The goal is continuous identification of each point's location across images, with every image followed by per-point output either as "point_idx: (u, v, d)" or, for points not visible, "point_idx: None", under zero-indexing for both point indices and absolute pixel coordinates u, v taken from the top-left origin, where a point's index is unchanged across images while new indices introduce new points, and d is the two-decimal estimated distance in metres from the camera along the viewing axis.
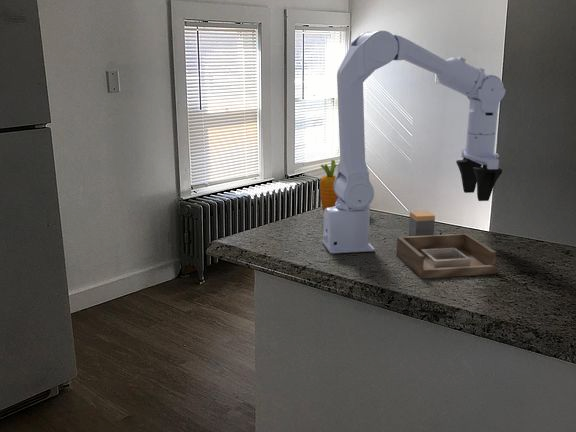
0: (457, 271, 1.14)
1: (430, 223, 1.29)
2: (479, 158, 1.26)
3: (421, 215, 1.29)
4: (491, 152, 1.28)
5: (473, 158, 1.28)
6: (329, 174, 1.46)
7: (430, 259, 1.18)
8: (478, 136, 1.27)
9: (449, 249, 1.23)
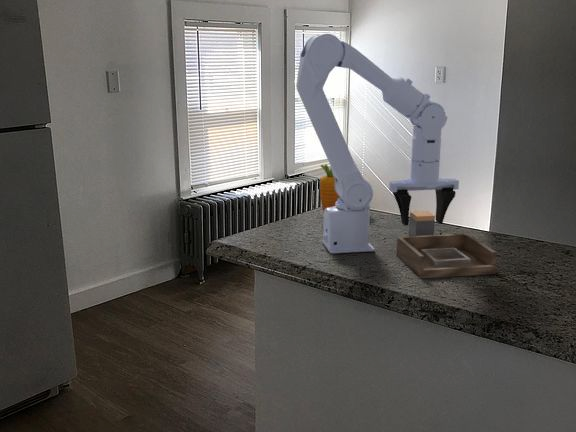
0: (457, 271, 1.14)
1: (430, 223, 1.29)
2: None
3: (421, 215, 1.29)
4: (416, 179, 1.27)
5: None
6: (329, 174, 1.46)
7: (430, 259, 1.18)
8: None
9: (449, 249, 1.23)
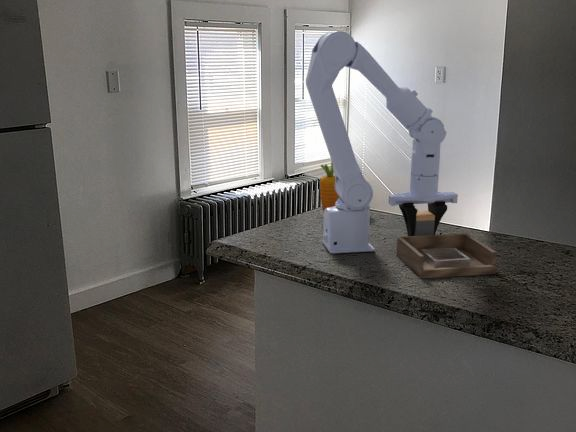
0: (457, 271, 1.14)
1: (430, 223, 1.29)
2: None
3: (421, 215, 1.29)
4: (415, 193, 1.27)
5: None
6: (329, 174, 1.46)
7: (430, 259, 1.18)
8: (411, 174, 1.29)
9: (449, 249, 1.23)
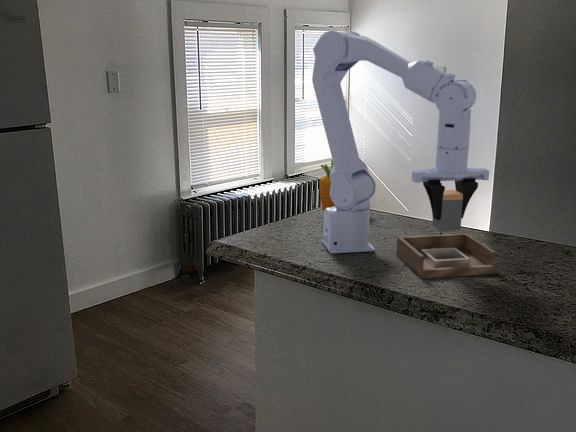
0: (457, 271, 1.14)
1: (458, 203, 1.16)
2: None
3: (447, 194, 1.16)
4: (442, 168, 1.14)
5: None
6: (329, 174, 1.46)
7: (430, 259, 1.18)
8: (437, 148, 1.16)
9: (449, 249, 1.23)
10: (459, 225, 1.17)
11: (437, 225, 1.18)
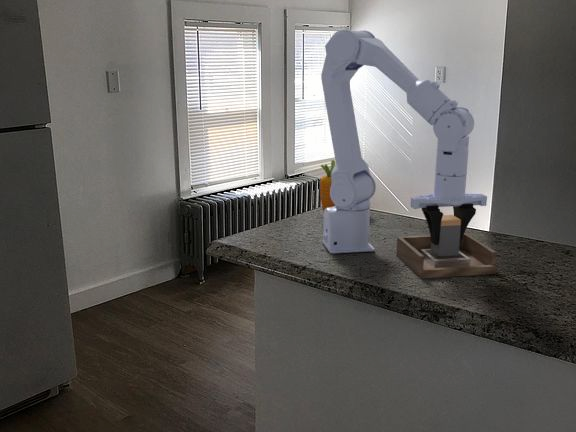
0: (457, 271, 1.14)
1: (456, 229, 1.17)
2: None
3: (446, 219, 1.17)
4: (440, 195, 1.15)
5: None
6: (329, 174, 1.46)
7: (430, 259, 1.18)
8: None
9: None
10: (457, 250, 1.18)
11: (435, 250, 1.19)
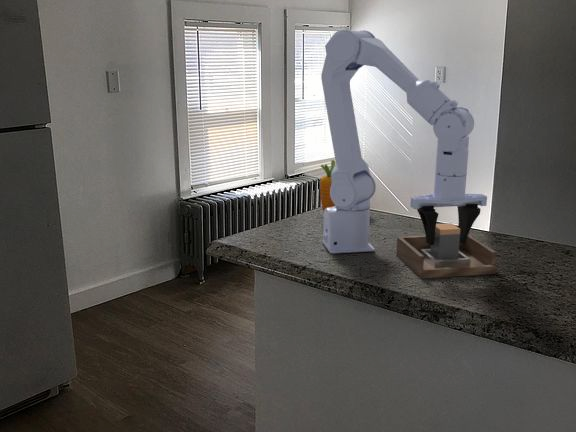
0: (457, 271, 1.14)
1: (455, 237, 1.17)
2: None
3: (445, 228, 1.17)
4: (440, 195, 1.15)
5: None
6: (329, 174, 1.46)
7: (430, 259, 1.18)
8: None
9: None
10: None
11: (435, 258, 1.20)
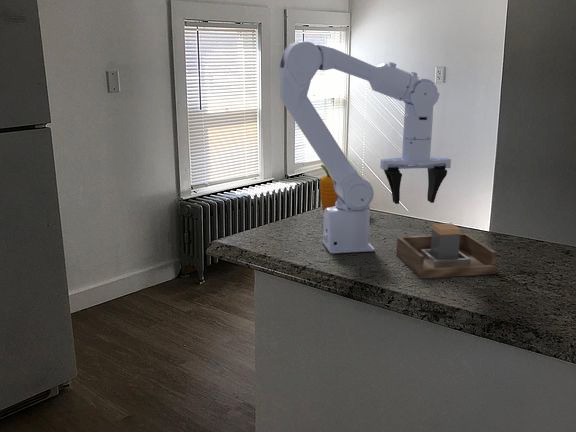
0: (457, 271, 1.14)
1: (455, 237, 1.17)
2: None
3: (445, 228, 1.17)
4: (407, 157, 1.26)
5: None
6: None
7: (430, 259, 1.18)
8: None
9: None
10: None
11: (435, 258, 1.20)
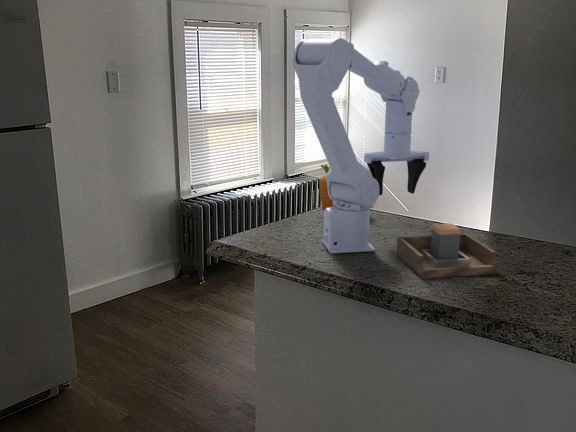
0: (457, 271, 1.14)
1: (455, 237, 1.17)
2: None
3: (445, 228, 1.17)
4: (389, 150, 1.33)
5: None
6: None
7: (430, 259, 1.18)
8: None
9: None
10: None
11: (435, 258, 1.20)
